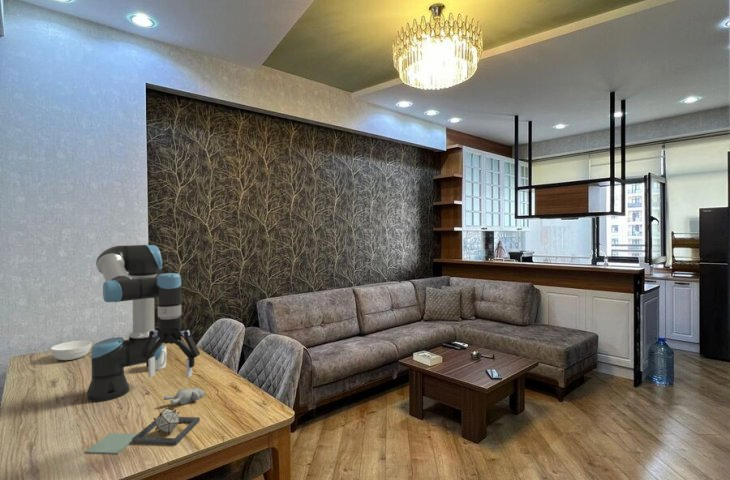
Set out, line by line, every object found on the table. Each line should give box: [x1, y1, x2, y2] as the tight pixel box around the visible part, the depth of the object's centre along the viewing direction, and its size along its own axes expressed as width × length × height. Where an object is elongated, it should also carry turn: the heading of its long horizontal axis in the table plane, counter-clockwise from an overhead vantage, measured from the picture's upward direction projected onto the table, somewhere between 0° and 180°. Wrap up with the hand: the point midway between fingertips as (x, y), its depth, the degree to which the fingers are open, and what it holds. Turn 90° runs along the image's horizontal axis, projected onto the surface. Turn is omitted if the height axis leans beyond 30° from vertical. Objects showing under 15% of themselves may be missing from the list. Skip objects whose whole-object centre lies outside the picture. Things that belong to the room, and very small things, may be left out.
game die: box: [153, 406, 183, 436], centre depth 134 cm, size 9×8×10 cm
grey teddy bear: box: [163, 387, 206, 406], centre depth 157 cm, size 10×5×15 cm
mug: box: [147, 345, 168, 372], centre depth 195 cm, size 11×9×10 cm
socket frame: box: [131, 416, 201, 446], centre depth 134 cm, size 15×15×2 cm
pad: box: [84, 432, 138, 455], centre depth 126 cm, size 11×11×1 cm
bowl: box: [50, 339, 93, 361], centre depth 211 cm, size 18×18×7 cm
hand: (170, 376), depth 135 cm, fingers open, 13 cm apart
